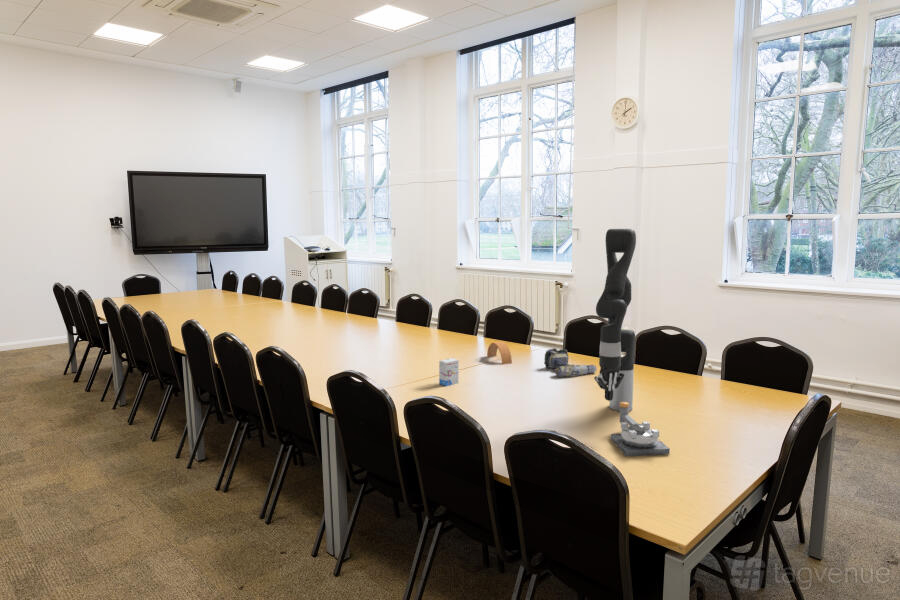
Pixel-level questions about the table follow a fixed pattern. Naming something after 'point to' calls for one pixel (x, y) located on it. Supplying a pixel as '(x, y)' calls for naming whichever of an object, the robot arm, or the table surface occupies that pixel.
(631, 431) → the orange knob lever
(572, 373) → the power drill
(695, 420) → the table surface
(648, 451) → the base plate
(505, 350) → the arch
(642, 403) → the table surface
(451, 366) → the ink box
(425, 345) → the table surface
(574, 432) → the table surface
